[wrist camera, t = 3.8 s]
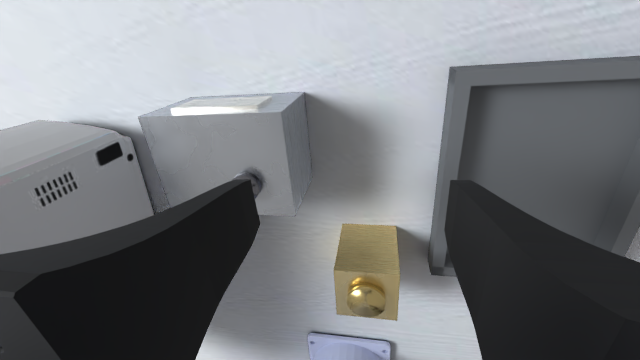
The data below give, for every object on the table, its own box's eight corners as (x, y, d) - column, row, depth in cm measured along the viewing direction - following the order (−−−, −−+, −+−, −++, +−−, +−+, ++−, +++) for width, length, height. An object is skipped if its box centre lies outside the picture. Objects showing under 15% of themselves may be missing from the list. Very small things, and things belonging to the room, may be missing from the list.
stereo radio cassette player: (47, 113, 23) (-1015, 388, 5) (141, 119, 22) (-852, 503, 4) (126, 300, 33) (-166, 614, 15) (194, 311, 31) (-39, 669, 14)
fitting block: (393, 266, 24) (397, 328, 19) (344, 262, 24) (335, 321, 20) (396, 225, 22) (400, 283, 17) (342, 223, 23) (332, 277, 18)
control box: (312, 177, 21) (292, 222, 16) (211, 176, 23) (165, 217, 18) (303, 89, 18) (276, 111, 14) (189, 94, 20) (128, 116, 15)
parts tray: (593, 269, 21) (608, 287, 19) (427, 259, 23) (431, 274, 21) (691, 52, 14) (725, 55, 13) (449, 67, 16) (456, 70, 15)
